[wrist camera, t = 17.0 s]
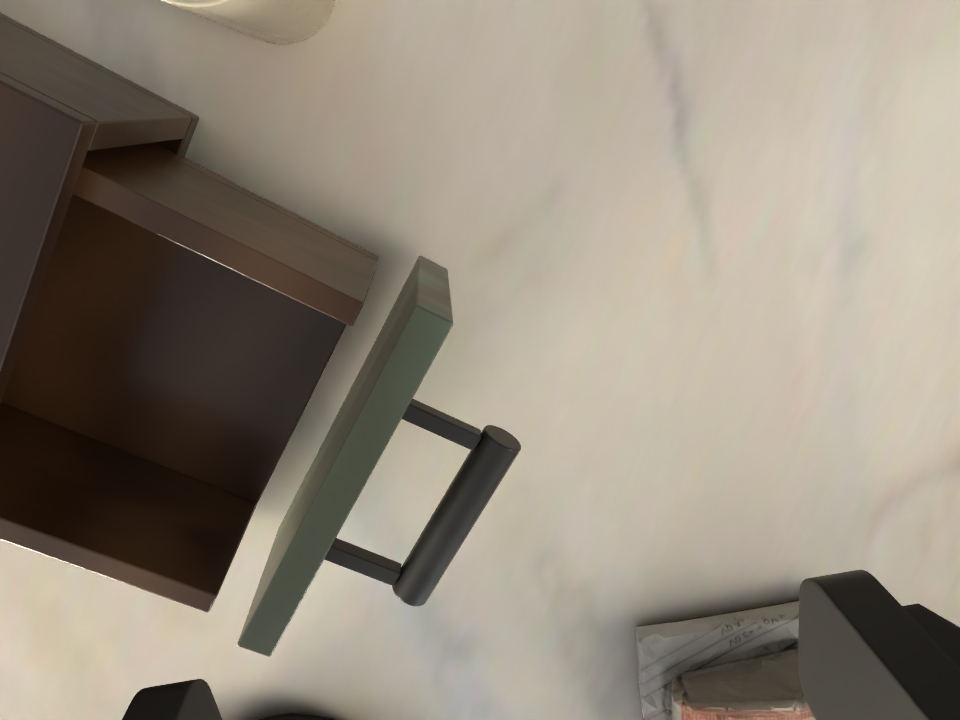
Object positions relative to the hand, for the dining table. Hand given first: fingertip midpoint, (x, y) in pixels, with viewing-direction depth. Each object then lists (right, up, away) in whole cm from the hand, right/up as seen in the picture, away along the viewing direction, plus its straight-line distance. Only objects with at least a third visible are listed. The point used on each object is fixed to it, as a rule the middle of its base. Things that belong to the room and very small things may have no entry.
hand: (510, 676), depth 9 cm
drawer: (-9, +4, +17) cm, 20 cm away
